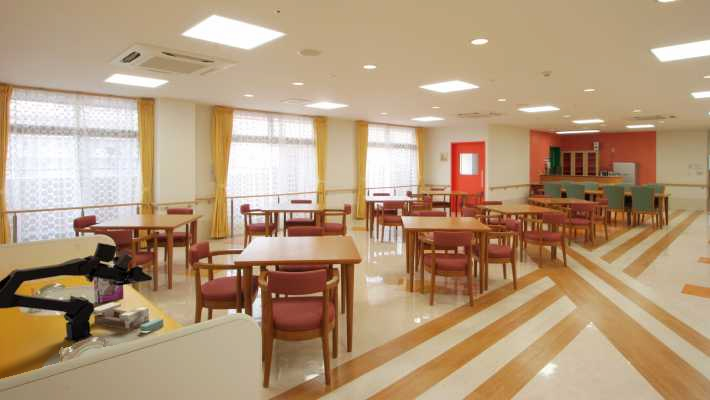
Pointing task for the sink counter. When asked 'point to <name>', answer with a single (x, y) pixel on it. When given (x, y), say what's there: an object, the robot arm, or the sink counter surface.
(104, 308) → the sliding cap
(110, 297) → the candy bar box
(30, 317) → the sink counter surface
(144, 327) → the teal rectangular block
